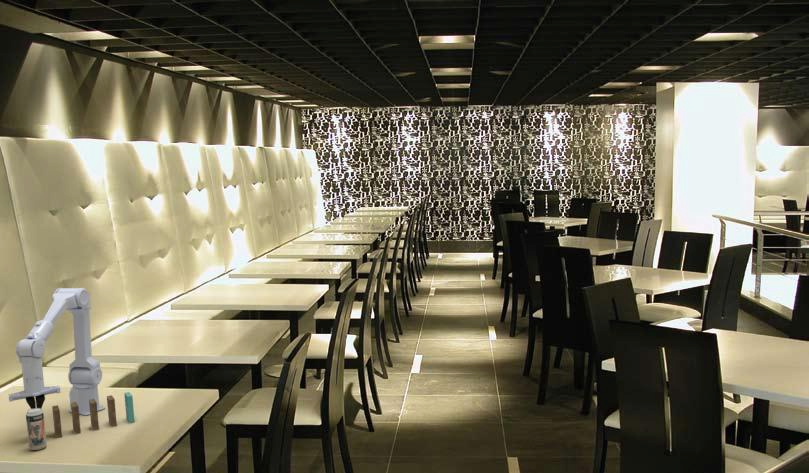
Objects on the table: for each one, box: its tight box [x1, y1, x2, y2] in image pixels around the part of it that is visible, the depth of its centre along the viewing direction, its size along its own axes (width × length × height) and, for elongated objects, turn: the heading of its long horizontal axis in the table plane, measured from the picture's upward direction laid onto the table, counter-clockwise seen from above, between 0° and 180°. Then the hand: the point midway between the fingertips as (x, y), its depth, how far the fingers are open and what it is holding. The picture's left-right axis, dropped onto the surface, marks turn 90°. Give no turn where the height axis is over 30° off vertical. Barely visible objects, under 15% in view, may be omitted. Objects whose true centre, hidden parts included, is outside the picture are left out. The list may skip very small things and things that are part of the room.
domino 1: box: [51, 404, 63, 439], centre depth 248 cm, size 2×5×9 cm, turn 30°
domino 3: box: [89, 399, 100, 431], centre depth 253 cm, size 2×5×9 cm, turn 30°
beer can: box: [25, 407, 48, 452], centre depth 237 cm, size 5×5×12 cm
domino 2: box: [70, 402, 81, 435], centre depth 251 cm, size 2×5×9 cm, turn 30°
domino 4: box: [106, 394, 118, 428], centre depth 256 cm, size 2×5×9 cm, turn 30°
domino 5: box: [123, 391, 135, 424], centre depth 259 cm, size 2×5×9 cm, turn 30°
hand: (37, 419), depth 245 cm, fingers closed
